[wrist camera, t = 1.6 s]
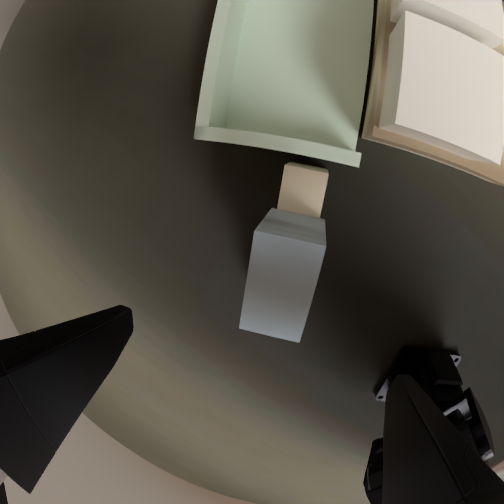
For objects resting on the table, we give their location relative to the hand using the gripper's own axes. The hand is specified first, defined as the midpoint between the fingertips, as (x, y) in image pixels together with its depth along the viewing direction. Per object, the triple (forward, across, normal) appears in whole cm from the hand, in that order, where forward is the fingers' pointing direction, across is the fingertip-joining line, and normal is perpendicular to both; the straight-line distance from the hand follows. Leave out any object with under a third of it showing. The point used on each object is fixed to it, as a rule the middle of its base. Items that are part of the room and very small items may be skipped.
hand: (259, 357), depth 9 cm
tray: (+13, +2, -14) cm, 19 cm away
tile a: (+8, -6, -11) cm, 15 cm away
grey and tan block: (+13, 0, 0) cm, 13 cm away
